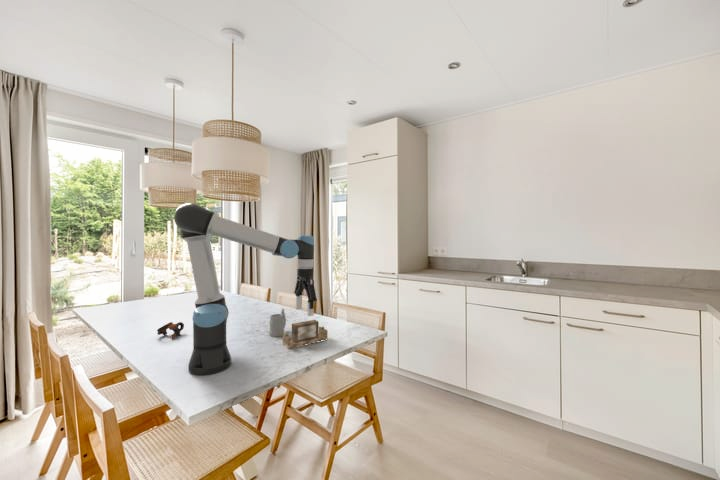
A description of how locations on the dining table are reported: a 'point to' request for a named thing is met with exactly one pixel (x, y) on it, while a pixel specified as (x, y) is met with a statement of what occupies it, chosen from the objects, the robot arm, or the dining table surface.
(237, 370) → the dining table surface
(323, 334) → the ledge
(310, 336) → the frame
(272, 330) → the mug
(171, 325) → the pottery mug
